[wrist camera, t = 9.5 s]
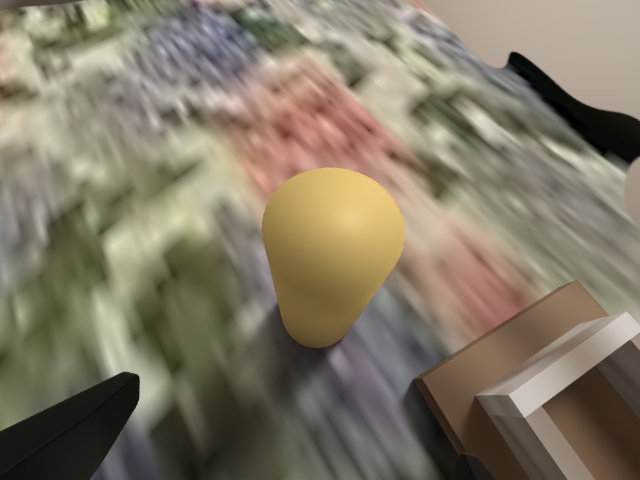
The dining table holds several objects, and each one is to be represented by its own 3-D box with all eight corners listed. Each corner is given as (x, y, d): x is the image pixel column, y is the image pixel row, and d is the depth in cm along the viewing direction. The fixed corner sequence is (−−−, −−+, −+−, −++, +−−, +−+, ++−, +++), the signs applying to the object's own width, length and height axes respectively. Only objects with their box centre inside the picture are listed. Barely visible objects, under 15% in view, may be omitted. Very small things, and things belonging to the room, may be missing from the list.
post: (336, 361, 19) (377, 320, 9) (268, 328, 19) (234, 256, 9) (363, 293, 20) (421, 197, 11) (300, 266, 21) (300, 150, 11)
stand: (571, 645, 14) (681, 745, 10) (413, 379, 18) (444, 374, 14) (728, 482, 17) (862, 509, 13) (559, 287, 21) (620, 261, 17)
